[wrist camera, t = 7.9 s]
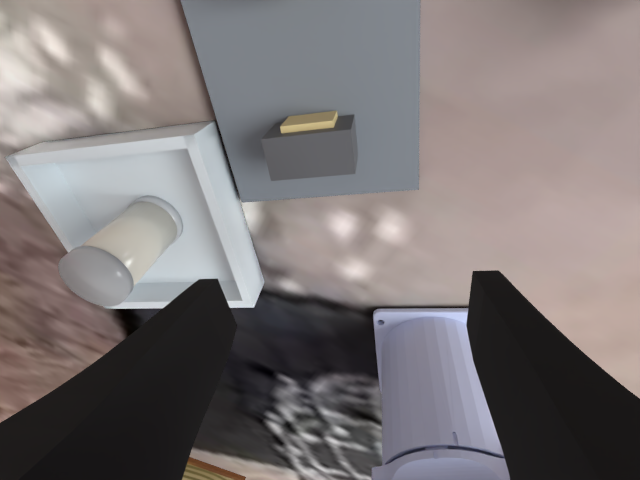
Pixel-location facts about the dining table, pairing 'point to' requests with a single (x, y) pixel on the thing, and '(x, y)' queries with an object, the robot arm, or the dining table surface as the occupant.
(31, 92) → the dining table surface
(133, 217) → the fuse
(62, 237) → the parts tray
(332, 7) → the fuse panel
